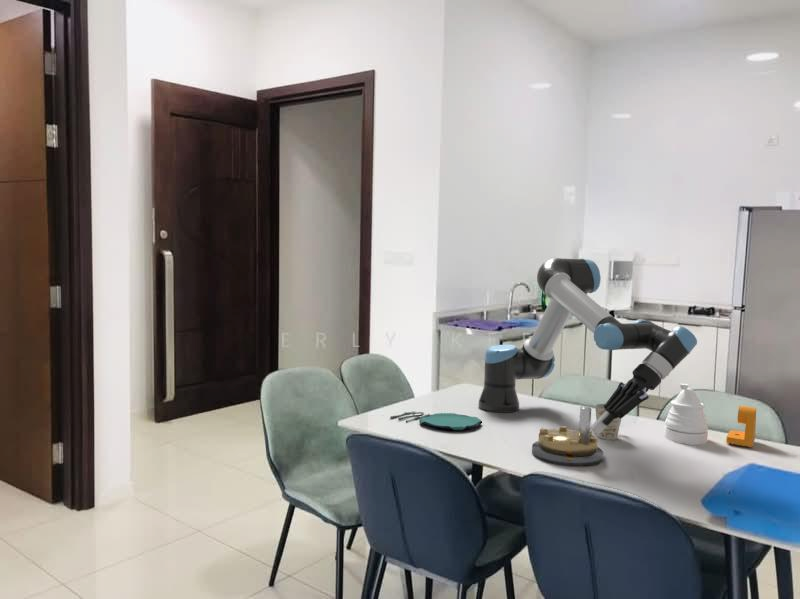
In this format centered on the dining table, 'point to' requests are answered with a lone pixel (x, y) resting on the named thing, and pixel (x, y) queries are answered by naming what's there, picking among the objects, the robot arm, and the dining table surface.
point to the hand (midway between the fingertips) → (594, 431)
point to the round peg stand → (570, 438)
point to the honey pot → (686, 419)
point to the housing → (567, 457)
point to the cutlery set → (444, 420)
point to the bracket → (745, 438)
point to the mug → (612, 428)
